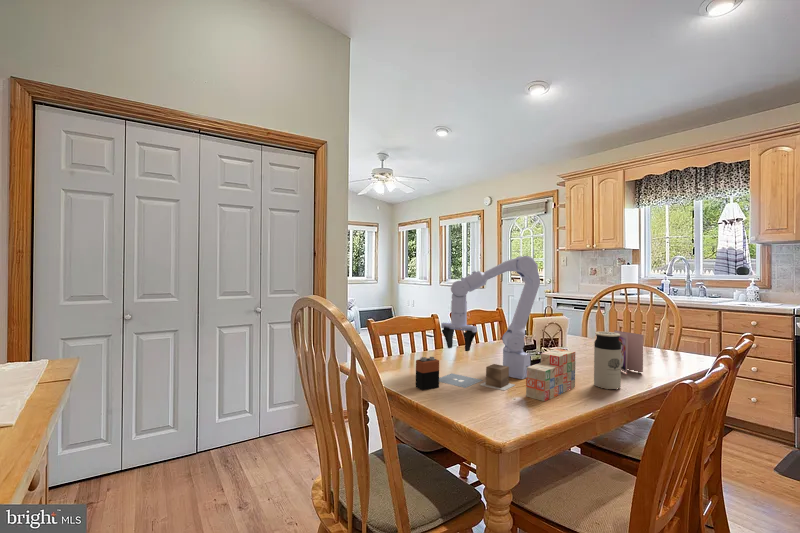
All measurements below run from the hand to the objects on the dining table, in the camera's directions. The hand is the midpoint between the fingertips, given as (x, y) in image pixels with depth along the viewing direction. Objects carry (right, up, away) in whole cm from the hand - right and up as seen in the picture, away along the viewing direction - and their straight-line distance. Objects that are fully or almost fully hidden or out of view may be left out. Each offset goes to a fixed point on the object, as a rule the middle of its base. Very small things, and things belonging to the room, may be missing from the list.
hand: (458, 349), depth 150 cm
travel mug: (+48, -10, -15) cm, 51 cm away
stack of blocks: (+27, -10, -21) cm, 35 cm away
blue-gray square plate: (-1, -9, -9) cm, 13 cm away
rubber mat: (+11, -9, -15) cm, 20 cm away
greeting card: (+66, -10, +5) cm, 67 cm away
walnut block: (+11, -9, -15) cm, 20 cm away
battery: (-13, -9, -18) cm, 24 cm away
